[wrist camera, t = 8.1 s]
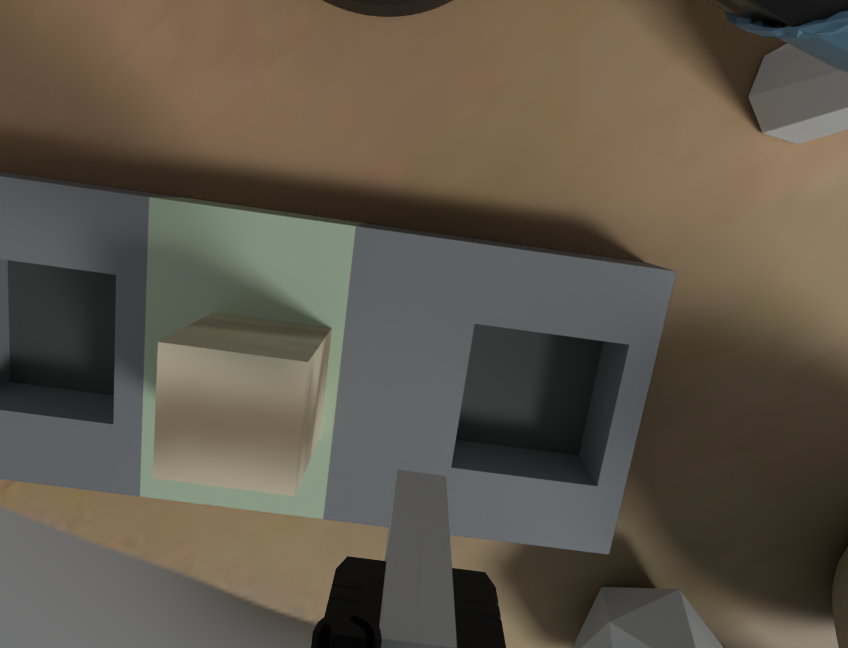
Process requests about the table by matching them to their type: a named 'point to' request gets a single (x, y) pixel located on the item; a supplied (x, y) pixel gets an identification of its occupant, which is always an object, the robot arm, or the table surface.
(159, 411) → the birch block
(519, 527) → the board
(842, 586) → the vase
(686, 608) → the die
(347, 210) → the table surface
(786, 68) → the pepper shaker
